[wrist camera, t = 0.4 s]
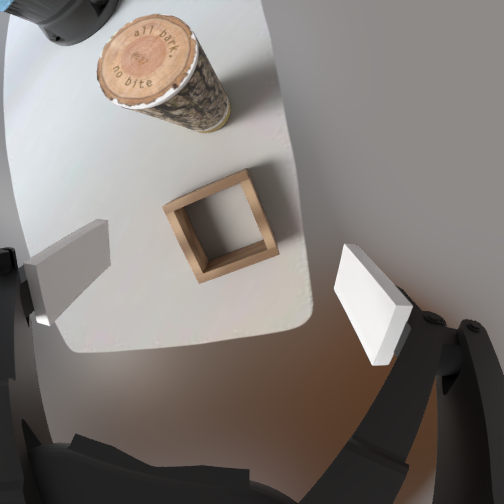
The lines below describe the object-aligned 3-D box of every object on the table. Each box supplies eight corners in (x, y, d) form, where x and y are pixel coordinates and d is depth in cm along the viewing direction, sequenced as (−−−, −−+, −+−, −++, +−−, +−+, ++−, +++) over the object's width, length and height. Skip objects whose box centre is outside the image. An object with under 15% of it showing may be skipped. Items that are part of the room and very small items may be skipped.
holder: (172, 200, 42) (162, 206, 37) (246, 168, 40) (245, 170, 35) (204, 270, 45) (199, 283, 40) (276, 243, 44) (279, 254, 39)
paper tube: (207, 80, 36) (150, -2, 12) (241, 109, 37) (221, 48, 14) (174, 113, 37) (79, 73, 14) (207, 143, 39) (140, 130, 15)
